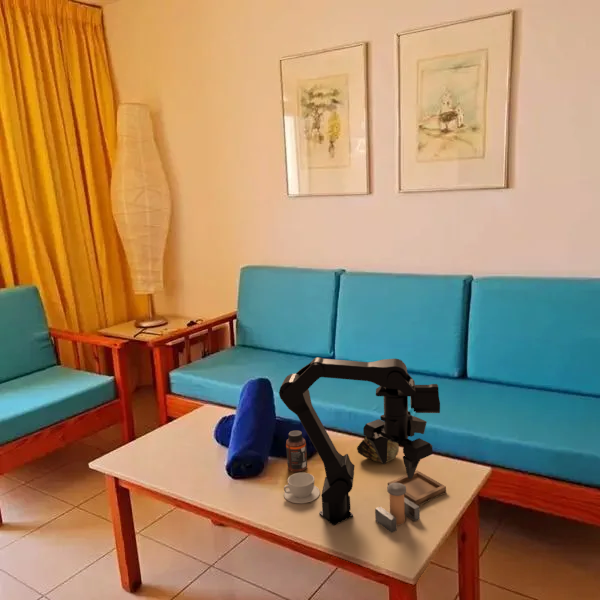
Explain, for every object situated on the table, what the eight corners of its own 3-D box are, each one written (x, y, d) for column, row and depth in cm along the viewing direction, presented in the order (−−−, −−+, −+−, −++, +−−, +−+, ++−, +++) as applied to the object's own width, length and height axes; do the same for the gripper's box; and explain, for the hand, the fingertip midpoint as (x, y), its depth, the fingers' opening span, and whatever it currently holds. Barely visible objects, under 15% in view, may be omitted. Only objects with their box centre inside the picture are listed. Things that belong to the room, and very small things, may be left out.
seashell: (370, 447, 178) (369, 418, 176) (404, 454, 172) (403, 424, 170) (355, 462, 170) (354, 431, 167) (391, 470, 164) (390, 438, 162)
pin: (396, 528, 137) (395, 494, 135) (384, 519, 141) (383, 486, 139) (410, 521, 139) (410, 488, 137) (398, 512, 143) (397, 480, 141)
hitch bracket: (391, 533, 135) (391, 520, 134) (375, 521, 140) (375, 508, 139) (419, 519, 140) (419, 506, 139) (403, 508, 145) (402, 496, 144)
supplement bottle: (310, 469, 167) (308, 434, 165) (291, 474, 165) (289, 439, 162) (303, 461, 172) (300, 427, 170) (285, 465, 170) (282, 431, 168)
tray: (415, 507, 145) (415, 500, 144) (387, 488, 154) (387, 482, 154) (446, 492, 150) (445, 486, 150) (417, 476, 160) (417, 470, 159)
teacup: (312, 481, 161) (311, 467, 160) (325, 499, 151) (324, 483, 150) (279, 490, 157) (277, 475, 156) (290, 508, 148) (289, 492, 147)
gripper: (448, 414, 132) (448, 475, 135) (393, 392, 147) (394, 447, 150) (414, 428, 126) (415, 491, 129) (361, 403, 141) (363, 460, 144)
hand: (397, 470), depth 138 cm, fingers open, 9 cm apart
